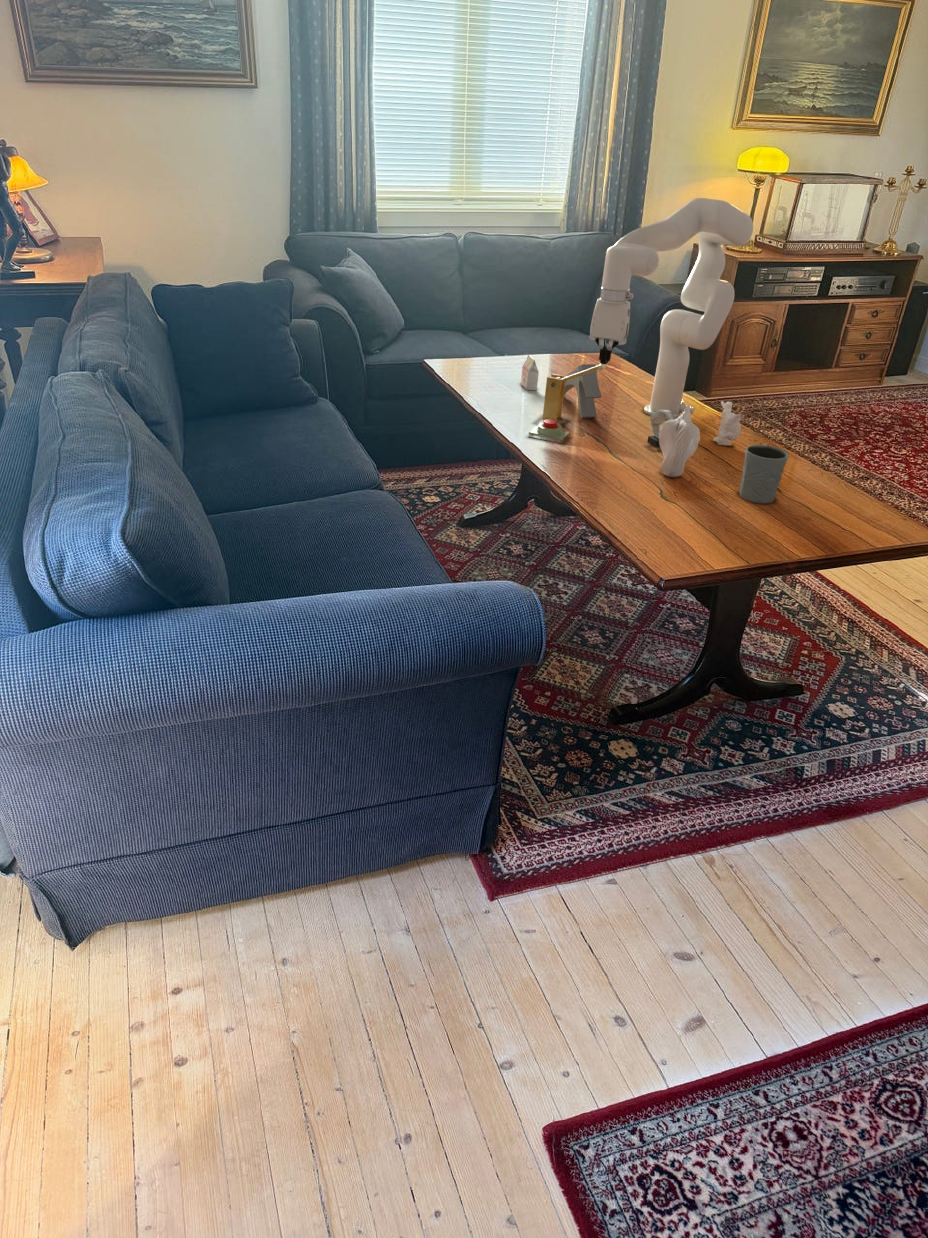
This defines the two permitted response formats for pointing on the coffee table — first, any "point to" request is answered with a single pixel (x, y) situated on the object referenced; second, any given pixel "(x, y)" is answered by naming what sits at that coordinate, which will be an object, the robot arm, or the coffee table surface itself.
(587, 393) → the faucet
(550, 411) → the bracket
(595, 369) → the tap lever
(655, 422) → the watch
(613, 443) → the coffee table surface
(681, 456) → the shell sculpture
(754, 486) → the grey cup
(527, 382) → the milk carton
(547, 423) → the stop button
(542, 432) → the button box
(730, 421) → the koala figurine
